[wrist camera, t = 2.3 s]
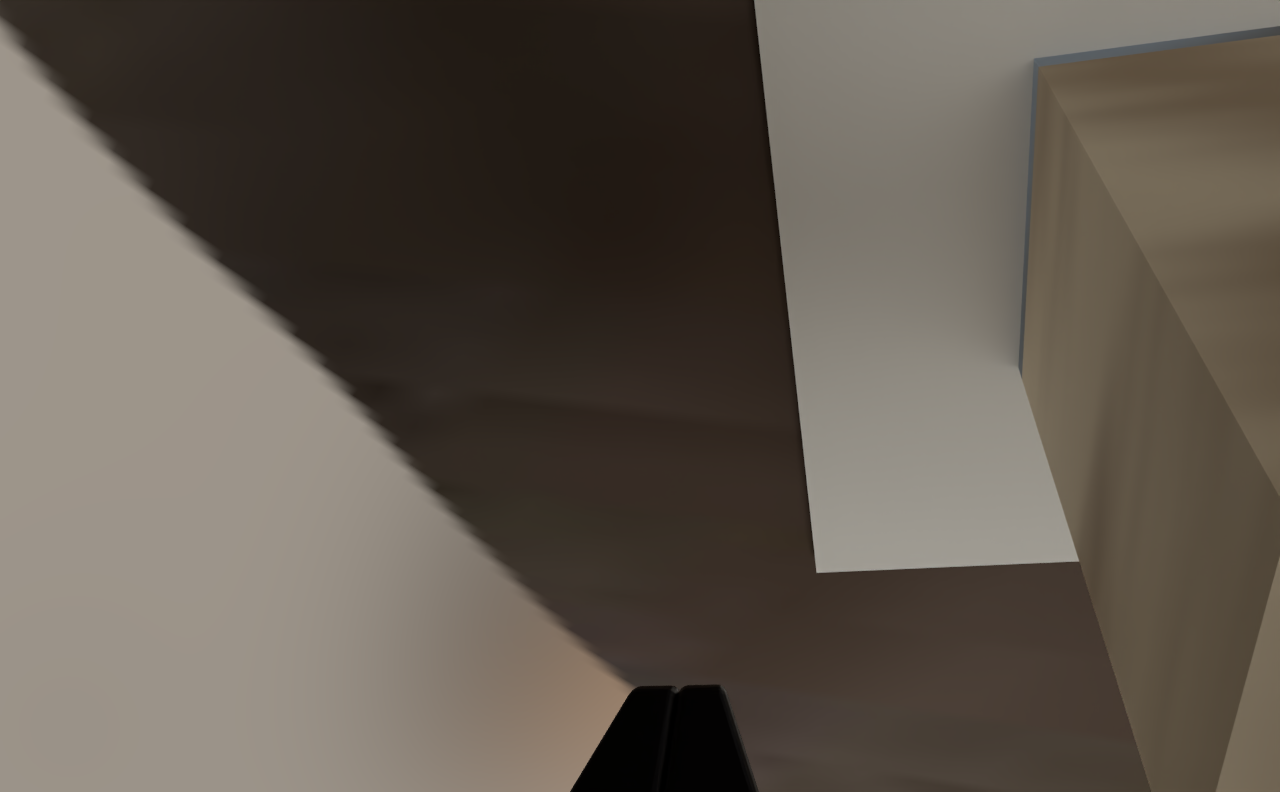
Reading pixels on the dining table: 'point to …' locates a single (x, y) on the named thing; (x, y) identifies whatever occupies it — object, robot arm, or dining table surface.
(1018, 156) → the grey mat
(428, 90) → the dining table surface
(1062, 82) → the birch block
